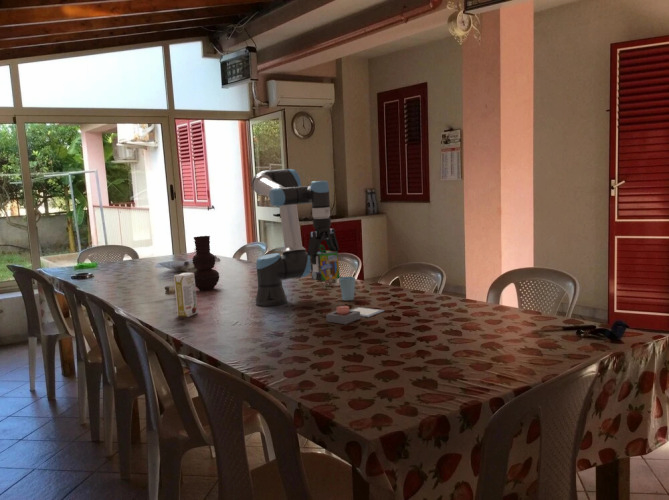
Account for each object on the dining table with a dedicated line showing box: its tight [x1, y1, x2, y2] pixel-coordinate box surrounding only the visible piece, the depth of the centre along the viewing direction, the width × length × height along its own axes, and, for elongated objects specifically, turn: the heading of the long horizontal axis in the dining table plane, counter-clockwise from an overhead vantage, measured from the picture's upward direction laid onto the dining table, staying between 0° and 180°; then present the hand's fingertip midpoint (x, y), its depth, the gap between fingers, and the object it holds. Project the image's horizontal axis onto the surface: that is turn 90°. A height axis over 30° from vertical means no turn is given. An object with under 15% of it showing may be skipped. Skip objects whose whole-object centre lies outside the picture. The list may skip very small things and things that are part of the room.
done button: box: [336, 305, 350, 315], centre depth 236 cm, size 5×5×3 cm
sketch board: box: [351, 306, 385, 318], centre depth 248 cm, size 14×12×1 cm
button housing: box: [325, 309, 361, 325], centre depth 237 cm, size 10×10×3 cm
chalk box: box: [310, 244, 341, 282], centre depth 243 cm, size 9×9×15 cm
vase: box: [191, 235, 220, 292], centre depth 317 cm, size 15×15×30 cm
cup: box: [338, 276, 356, 302], centre depth 275 cm, size 8×8×10 cm
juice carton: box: [173, 272, 198, 318], centre depth 261 cm, size 8×9×19 cm
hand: (324, 269), depth 243 cm, fingers closed on chalk box, 10 cm apart
